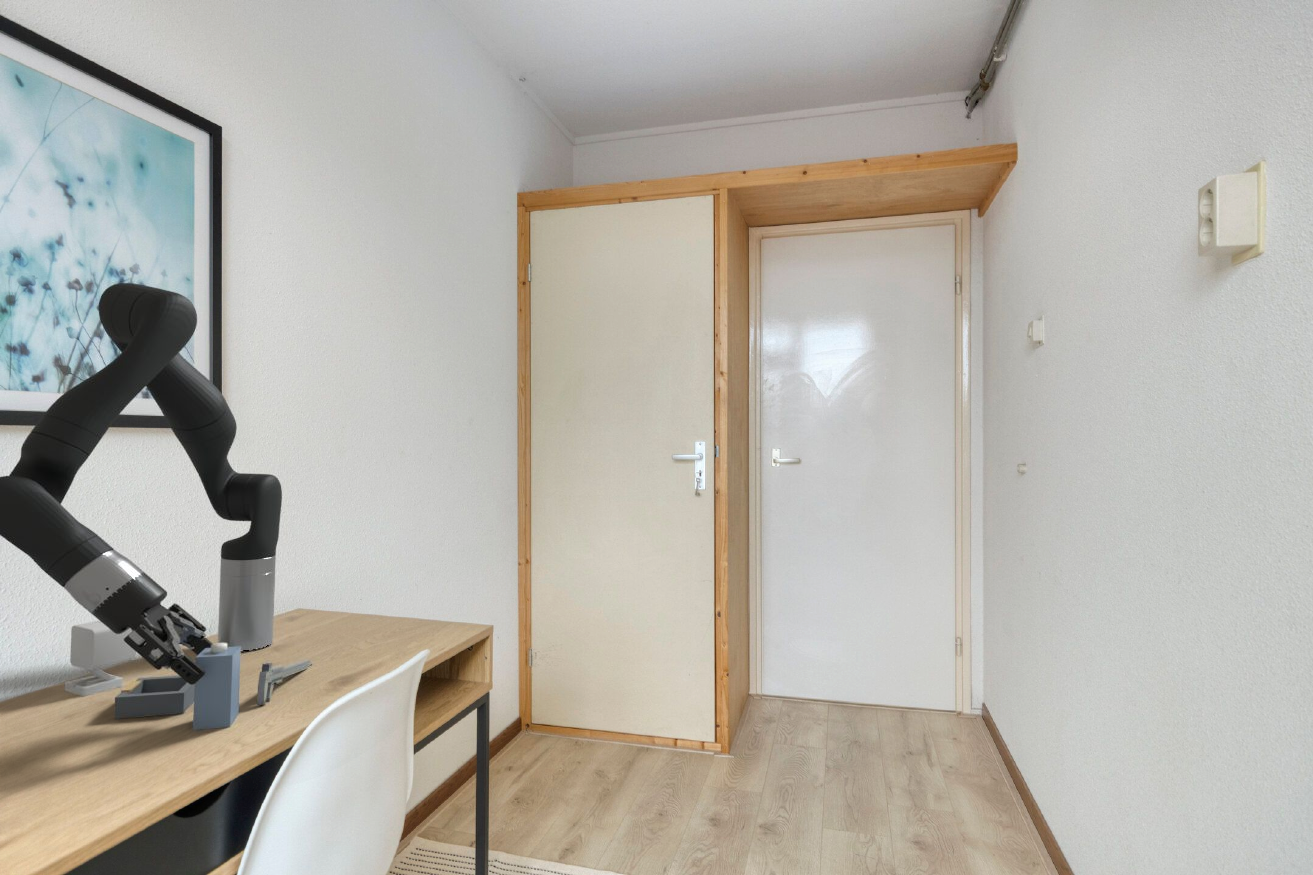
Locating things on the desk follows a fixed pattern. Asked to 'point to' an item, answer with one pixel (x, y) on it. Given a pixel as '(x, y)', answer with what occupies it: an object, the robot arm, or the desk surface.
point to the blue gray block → (217, 687)
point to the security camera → (97, 657)
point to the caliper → (276, 678)
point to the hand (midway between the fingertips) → (209, 669)
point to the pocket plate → (154, 697)
